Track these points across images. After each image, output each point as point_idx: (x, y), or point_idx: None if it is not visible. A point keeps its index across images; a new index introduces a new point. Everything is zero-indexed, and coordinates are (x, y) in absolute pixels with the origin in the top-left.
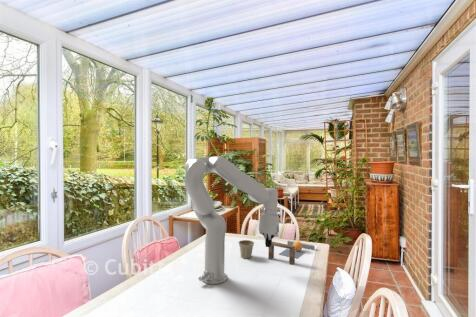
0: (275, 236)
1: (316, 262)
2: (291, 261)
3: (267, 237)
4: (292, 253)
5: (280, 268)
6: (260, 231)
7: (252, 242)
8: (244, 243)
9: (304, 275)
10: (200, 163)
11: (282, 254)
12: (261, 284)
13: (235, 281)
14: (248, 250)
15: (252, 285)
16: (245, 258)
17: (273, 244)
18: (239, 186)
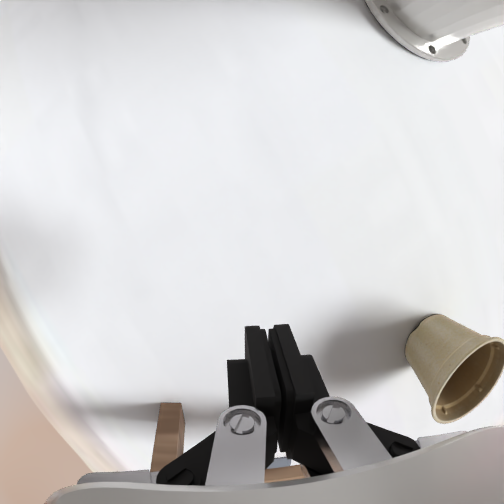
0: (121, 480)
1: (103, 459)
2: (166, 415)
3: (304, 438)
4: (155, 451)
5: (186, 329)
6: (491, 434)
7: (441, 417)
8: (473, 387)
9: (41, 315)
10: None
11: (272, 463)
12: (169, 47)
13: (321, 8)
14: (437, 350)
15: (210, 10)
16: (424, 319)
17: None
18: None
